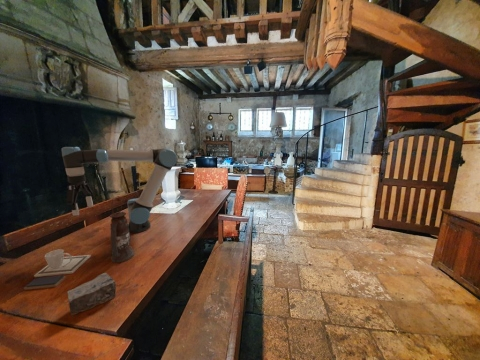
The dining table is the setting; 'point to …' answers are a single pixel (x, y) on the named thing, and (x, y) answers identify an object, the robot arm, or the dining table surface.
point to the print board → (67, 269)
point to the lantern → (117, 230)
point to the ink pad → (45, 282)
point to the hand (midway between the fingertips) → (83, 210)
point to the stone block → (91, 293)
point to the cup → (56, 258)
